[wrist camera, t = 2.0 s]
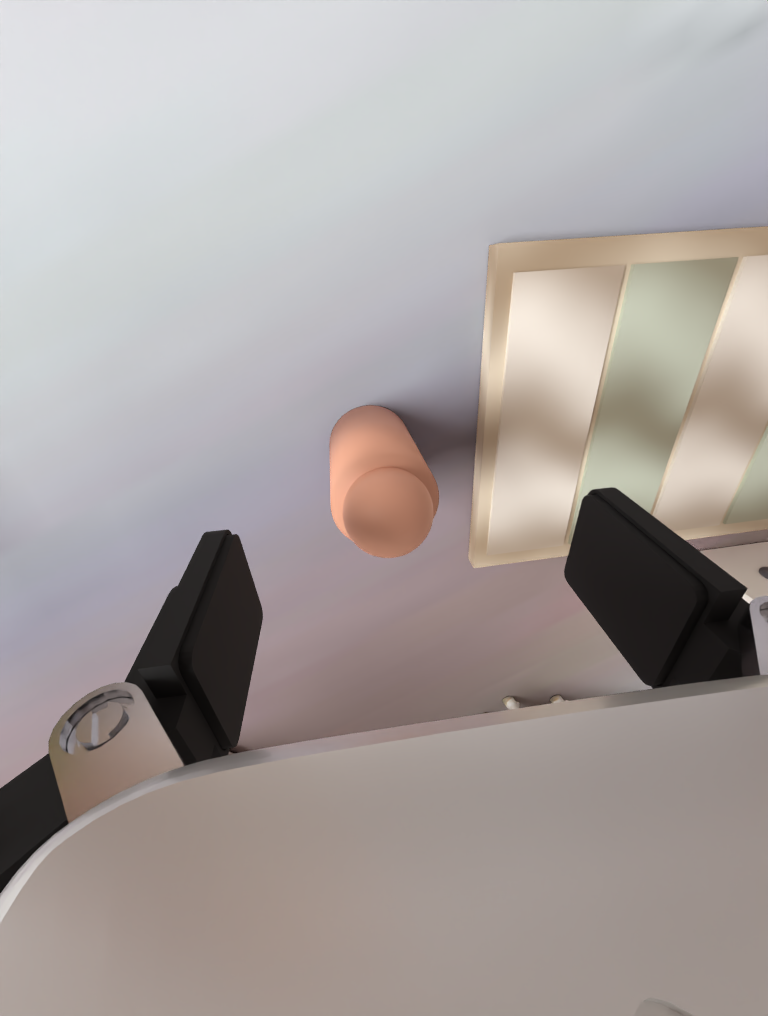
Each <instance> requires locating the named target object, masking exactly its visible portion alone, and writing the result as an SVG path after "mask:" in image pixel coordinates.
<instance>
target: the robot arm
mask: <svg viewBox="0 0 768 1016" xmlns="http://www.w3.org/2000/svg"><path fill="white" fill-rule="evenodd" d="M564 573H565V578H566V581H567V582H568V584H569V585H570V586H571V588H572V589H573V590H574V592H575V593H576V594H577V596H578V597H579V598H580V600H581V601H582V602H583V604H584V605H585V606H586V608H587V609H588V610H589V612H590V613H591V614H592V615H593V617H594V618H595V619H596V621H597V622H598V623H599V625H600V626H601V627H602V629H603V630H604V631H605V633H606V634H607V635H608V637H609V638H610V639H611V641H612V642H613V643H614V645H615V646H616V647H617V649H618V650H619V651H620V653H621V654H622V655H623V657H624V658H625V659H626V660H627V662H628V663H629V664H630V666H631V667H632V668H633V670H634V671H635V672H636V674H637V675H638V676H639V678H640V679H641V680H642V681H643V682H644V683H645V684H646V685H649V686H651V687H652V688H653V689H648V690H641V691H634V692H627V693H620V694H613V695H606V696H599V697H592V698H585V699H578V700H572V701H565V702H558V703H551V704H544V705H538V706H531V707H524V708H517V709H511V710H504V711H497V712H491V713H484V714H477V715H470V716H464V717H457V718H450V719H444V720H437V721H431V722H424V723H418V724H411V725H405V726H398V727H392V728H385V729H379V730H372V731H366V732H359V733H353V734H346V735H340V736H333V737H327V738H321V739H315V740H309V741H303V742H297V743H291V744H286V745H280V746H274V747H268V748H262V749H257V750H251V751H245V752H240V753H235V754H234V753H232V752H230V751H229V749H230V748H233V747H236V746H237V743H238V740H239V736H240V731H241V726H242V721H243V716H244V711H245V706H246V701H247V696H248V690H249V685H250V680H251V675H252V670H253V665H254V660H255V655H256V650H257V645H258V640H259V635H260V630H261V625H262V619H263V613H262V607H261V604H260V600H259V597H258V594H257V591H256V588H255V585H254V582H253V578H252V575H251V572H250V569H249V566H248V563H247V560H246V557H245V553H244V550H243V547H242V544H241V541H240V538H239V536H238V535H237V534H235V535H232V534H231V532H230V531H229V530H220V531H211V532H205V533H204V534H203V536H202V538H201V540H200V542H199V544H198V546H197V548H196V550H195V552H194V554H193V556H192V558H191V560H190V562H189V564H188V567H187V569H186V571H185V573H184V575H183V577H182V579H181V581H180V583H179V585H178V586H176V587H175V588H173V589H172V590H171V592H170V593H169V595H168V597H167V599H166V601H165V603H164V605H163V607H162V609H161V611H160V613H159V615H158V617H157V619H156V621H155V623H154V625H153V626H152V628H151V630H150V632H149V634H148V636H147V638H146V640H145V642H144V644H143V646H142V648H141V650H140V652H139V654H138V656H137V658H136V660H135V662H134V664H133V666H132V668H131V670H130V672H129V674H128V676H127V678H126V680H125V682H121V683H113V684H109V685H106V686H103V687H100V688H98V689H96V690H94V691H93V692H91V693H89V694H87V695H86V696H84V697H83V698H81V699H80V700H79V701H77V702H76V703H75V704H73V705H72V707H71V708H70V709H69V710H68V711H67V712H66V713H65V714H64V715H63V716H62V717H61V718H60V720H59V721H58V723H57V724H56V726H55V727H54V729H53V731H52V734H51V736H50V739H49V754H47V755H46V756H44V757H43V758H42V759H40V760H39V761H38V762H36V763H35V764H33V765H32V766H31V767H29V768H28V769H27V770H25V771H24V772H22V773H21V774H20V775H18V776H17V777H15V778H14V779H13V780H11V781H10V782H9V783H7V784H6V785H4V786H3V787H2V788H0V1016H768V596H761V597H756V598H755V599H753V600H752V601H751V602H750V604H749V603H748V602H746V601H745V600H744V599H743V598H742V597H743V595H744V594H745V592H746V591H747V589H748V588H747V587H745V586H744V585H743V584H741V583H740V582H739V581H738V580H736V579H735V578H734V577H732V576H731V575H730V574H728V573H727V572H726V571H724V570H723V569H722V568H721V567H719V566H718V565H717V564H715V563H714V562H713V561H711V560H710V559H709V558H707V557H706V556H705V555H703V554H702V553H701V552H700V551H698V550H697V549H696V548H694V547H693V546H692V545H690V544H689V543H688V542H686V541H685V540H684V539H683V538H681V537H680V536H679V535H677V534H676V533H675V532H673V531H672V530H671V529H669V528H668V527H667V526H666V525H664V524H663V523H662V522H660V521H659V520H658V519H656V518H655V517H654V516H652V515H651V514H650V513H649V512H647V511H646V510H645V509H643V508H642V507H641V506H639V505H638V504H637V503H635V502H634V501H633V500H632V499H630V498H629V497H628V496H626V495H625V494H624V493H622V492H621V491H620V490H618V489H617V488H615V487H610V488H601V489H593V490H591V491H590V492H589V493H588V495H586V496H584V498H583V499H582V503H581V507H580V510H579V514H578V518H577V522H576V526H575V530H574V534H573V538H572V542H571V546H570V550H569V554H568V558H567V562H566V566H565V570H564Z"/></svg>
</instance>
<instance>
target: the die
mask: <svg viewBox="0 0 768 1016" xmlns="http://www.w3.org/2000/svg"><path fill="white" fill-rule="evenodd" d="M700 552H701V553H702V554H703V555H705V556H706V557H707V558H709V559H710V560H711V561H713V562H714V563H715V564H717V565H718V566H719V567H721V568H722V569H723V570H724V571H726V572H727V573H728V574H730V575H731V576H732V577H734V578H735V579H736V580H738V581H739V582H740V583H741V584H743V585H744V586H745V587H747V588H748V589H747V591H746V592H745V594H744V595H743V597H742V598H743V599H744V600H745V601H746V602H748V603H749V604H750V602H751V601H752V600H753V599H755V598H756V597H761V596H768V542H761V543H754V544H746V545H739V546H732V547H724V548H717V549H709V550H702V551H700Z"/></svg>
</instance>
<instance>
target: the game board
mask: <svg viewBox="0 0 768 1016" xmlns="http://www.w3.org/2000/svg"><path fill="white" fill-rule="evenodd" d="M610 487H615V488H617V489H618V490H620V491H621V492H622V493H624V494H625V495H626V496H628V497H629V498H630V499H632V500H633V501H634V502H635V503H637V504H638V505H639V506H641V507H642V508H643V509H645V510H646V511H647V512H649V513H650V514H651V515H652V516H654V517H655V518H656V519H658V520H659V521H660V522H662V523H663V524H664V525H666V526H667V527H668V528H669V529H671V530H672V531H673V532H675V533H676V534H677V535H679V536H680V537H681V538H683V539H684V540H690V539H697V538H705V537H712V536H720V535H727V534H735V533H742V532H750V531H757V530H765V529H768V226H766V227H750V228H734V229H718V230H703V231H687V232H671V233H655V234H639V235H624V236H608V237H592V238H576V239H560V240H544V241H529V242H513V243H498V244H494V245H490V246H489V257H488V272H487V287H486V302H485V317H484V331H483V346H482V361H481V376H480V391H479V406H478V421H477V436H476V451H475V466H474V481H473V496H472V511H471V526H470V541H469V556H468V558H469V560H470V562H471V564H472V566H473V568H479V567H486V566H494V565H502V564H509V563H517V562H524V561H532V560H539V559H547V558H554V557H562V556H568V554H569V550H570V546H571V542H572V538H573V534H574V530H575V526H576V522H577V518H578V514H579V510H580V507H581V503H582V499H583V498H584V496H586V495H588V493H589V492H590V491H591V490H593V489H601V488H610Z"/></svg>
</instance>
